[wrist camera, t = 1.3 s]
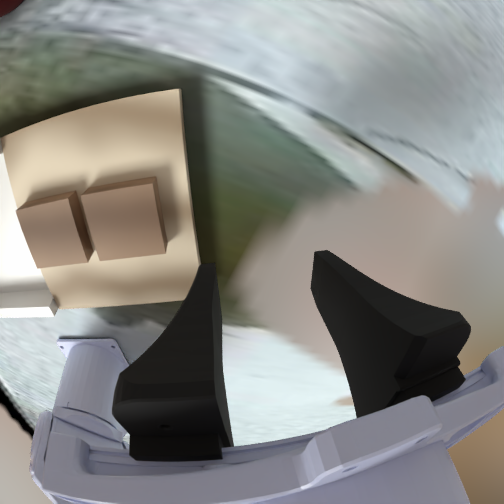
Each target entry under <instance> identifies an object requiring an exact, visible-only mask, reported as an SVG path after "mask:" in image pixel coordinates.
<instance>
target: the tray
mask: <svg viewBox="0 0 504 504" xmlns="http://www.w3.org/2000/svg"><path fill="white" fill-rule="evenodd" d="M16 210H17V206H16V202H15V199H14V195H13V192H12V188H11V184H10V180H9V176H8V172H7V168H6V164H5V159H4V154H3V149H2V143H1V138H0V317H54V316H55V314H56V312H57V310H58V306H57V304H56V302H55V300H54V298H53V296H52V294H51V292H50V290H49V288H48V286H47V283H46V281H45V279H44V277H43V275H42V272H41V270H40V268H39V269H37V267H36V265H35V262H34V260H33V258H32V255H31V253H30V250H29V248H28V245H27V243H26V240H25V237H24V235H23V232H22V229H21V226H20V223H19V220H18V217H17V214H16Z"/></svg>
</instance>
